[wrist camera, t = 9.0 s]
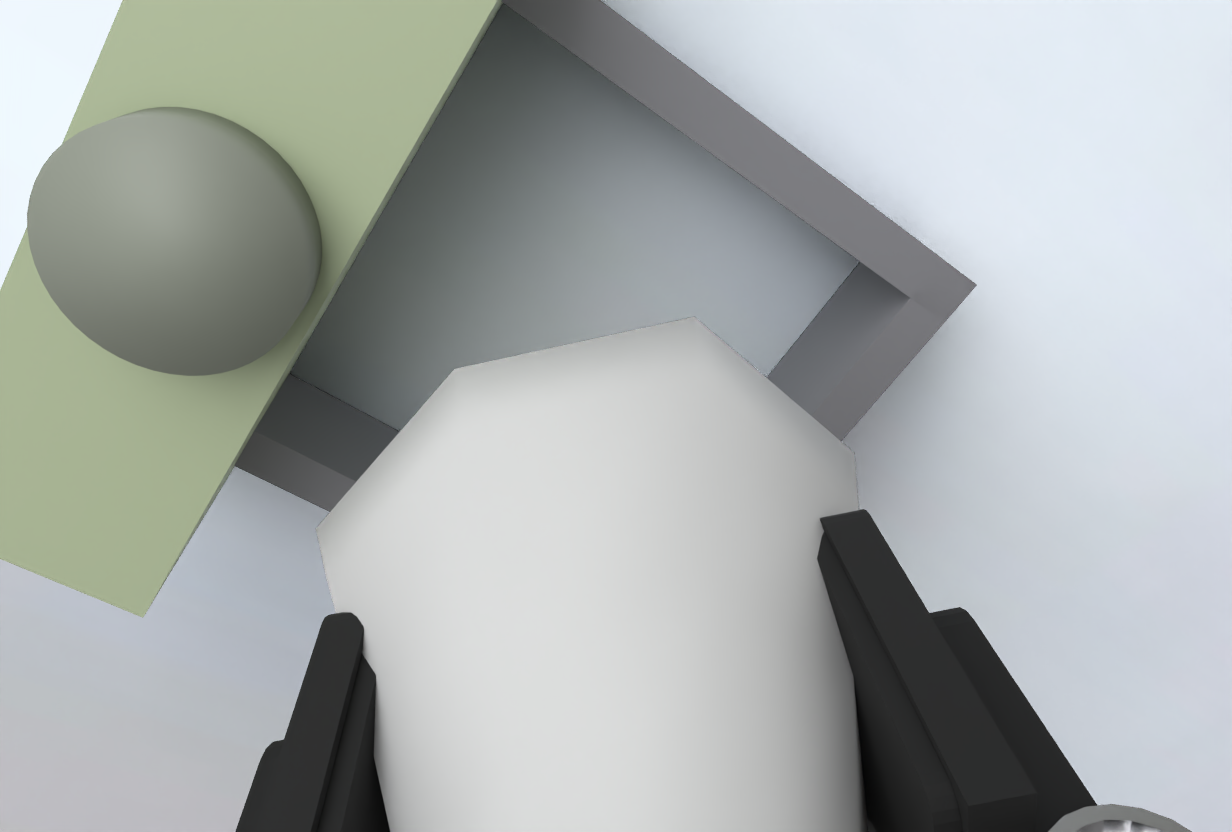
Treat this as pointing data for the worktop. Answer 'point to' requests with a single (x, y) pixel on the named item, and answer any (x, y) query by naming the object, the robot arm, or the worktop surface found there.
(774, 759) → the flask
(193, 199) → the grey and green box
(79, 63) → the worktop surface
